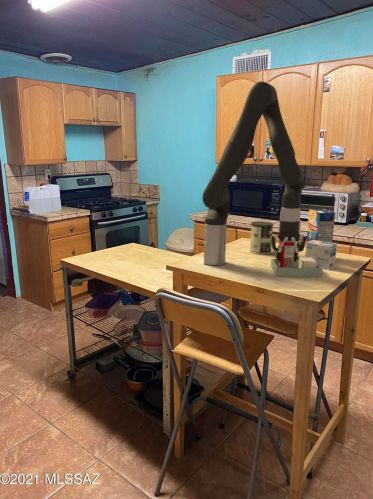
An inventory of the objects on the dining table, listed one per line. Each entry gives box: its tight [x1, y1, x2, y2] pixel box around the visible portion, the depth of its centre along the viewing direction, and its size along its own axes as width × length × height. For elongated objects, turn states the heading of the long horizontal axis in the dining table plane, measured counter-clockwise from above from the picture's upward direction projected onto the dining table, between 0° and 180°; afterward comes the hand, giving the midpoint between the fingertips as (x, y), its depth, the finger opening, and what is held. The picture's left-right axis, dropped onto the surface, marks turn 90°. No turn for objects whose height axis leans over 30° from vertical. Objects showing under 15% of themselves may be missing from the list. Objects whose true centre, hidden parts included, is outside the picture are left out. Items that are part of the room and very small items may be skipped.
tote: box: [270, 258, 323, 278], centre depth 154 cm, size 17×13×4 cm
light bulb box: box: [304, 240, 338, 271], centre depth 162 cm, size 11×7×11 cm, turn 48°
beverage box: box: [304, 208, 336, 257], centre depth 173 cm, size 7×11×22 cm, turn 7°
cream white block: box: [298, 256, 317, 268], centre depth 154 cm, size 5×7×5 cm
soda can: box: [279, 241, 295, 268], centre depth 153 cm, size 6×6×12 cm
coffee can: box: [249, 220, 274, 255], centre depth 185 cm, size 10×10×14 cm
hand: (286, 261), depth 153 cm, fingers closed on soda can, 5 cm apart
